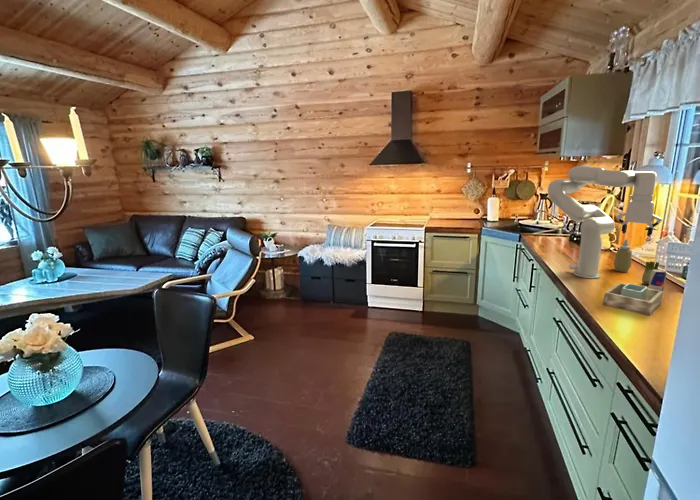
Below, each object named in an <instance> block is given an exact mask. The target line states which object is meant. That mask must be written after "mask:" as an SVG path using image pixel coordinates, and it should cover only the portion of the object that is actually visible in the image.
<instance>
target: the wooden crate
mask: <svg viewBox="0 0 700 500" xmlns="http://www.w3.org/2000/svg"><path fill="white" fill-rule="evenodd" d="M627 284H628V283H624V282H623V283H622V282H618V283H616V284H615V285H613V286H612V287H610V288H609V289H608V290H606V291H605V292H604V295H603V296H604V297H603V302H602V305H604V306H608V307H611V306H612V308H615V307H616V309H619V308H620V309H621V310H624V311H628V312H632V313H637V314H641V315H646V316H649V317H650V316H651V315H652V314H653V312H655V311H656V309H658V307H659V306H660V305H661V304H662V301H663V295H664V290H663V291H659V290H654V289H649V287H648V289H647V294H646V299H645V300H641V299H636V298H631V297H627V296H622V295H621V290H622V288H623V287H624V286H625V285H627Z"/></svg>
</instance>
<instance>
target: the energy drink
mask: <svg viewBox="0 0 700 500" xmlns="http://www.w3.org/2000/svg"><path fill="white" fill-rule="evenodd" d="M666 278H667V271H666V270H663V269H660V268H658V269H653V270H652V271H651V277H650V282H649V285H648V288H649V289H654V290H659V291H663V292H664V288H665V283H666V280H667V279H666Z"/></svg>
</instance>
